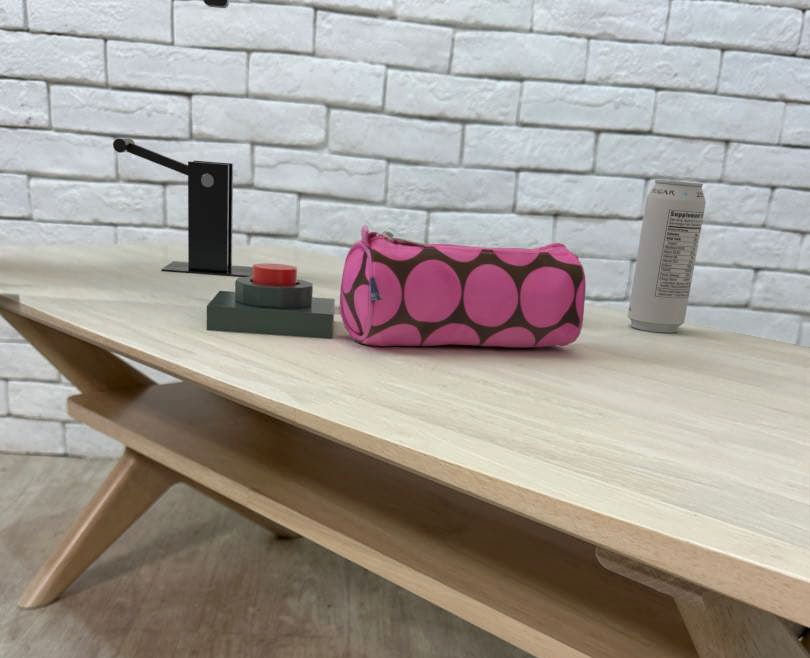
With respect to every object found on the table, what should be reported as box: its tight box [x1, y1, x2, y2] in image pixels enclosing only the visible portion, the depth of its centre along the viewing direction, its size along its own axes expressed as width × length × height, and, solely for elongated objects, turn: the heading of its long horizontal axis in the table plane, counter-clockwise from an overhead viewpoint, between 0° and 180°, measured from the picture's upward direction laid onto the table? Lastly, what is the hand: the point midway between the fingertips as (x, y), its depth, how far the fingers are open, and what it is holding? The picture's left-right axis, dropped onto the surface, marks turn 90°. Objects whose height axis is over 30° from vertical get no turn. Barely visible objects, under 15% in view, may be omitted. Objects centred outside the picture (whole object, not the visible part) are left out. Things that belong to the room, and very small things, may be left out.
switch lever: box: [112, 137, 188, 177], centre depth 112 cm, size 12×5×2 cm, turn 93°
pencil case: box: [339, 224, 587, 348], centre depth 88 cm, size 21×10×10 cm, turn 111°
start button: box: [252, 263, 298, 286], centre depth 90 cm, size 4×4×2 cm
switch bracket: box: [161, 160, 253, 278], centre depth 115 cm, size 10×8×13 cm
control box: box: [206, 276, 336, 340], centre depth 91 cm, size 11×9×4 cm
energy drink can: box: [627, 179, 707, 334], centre depth 105 cm, size 6×6×15 cm
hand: (216, 6), depth 93 cm, fingers closed
